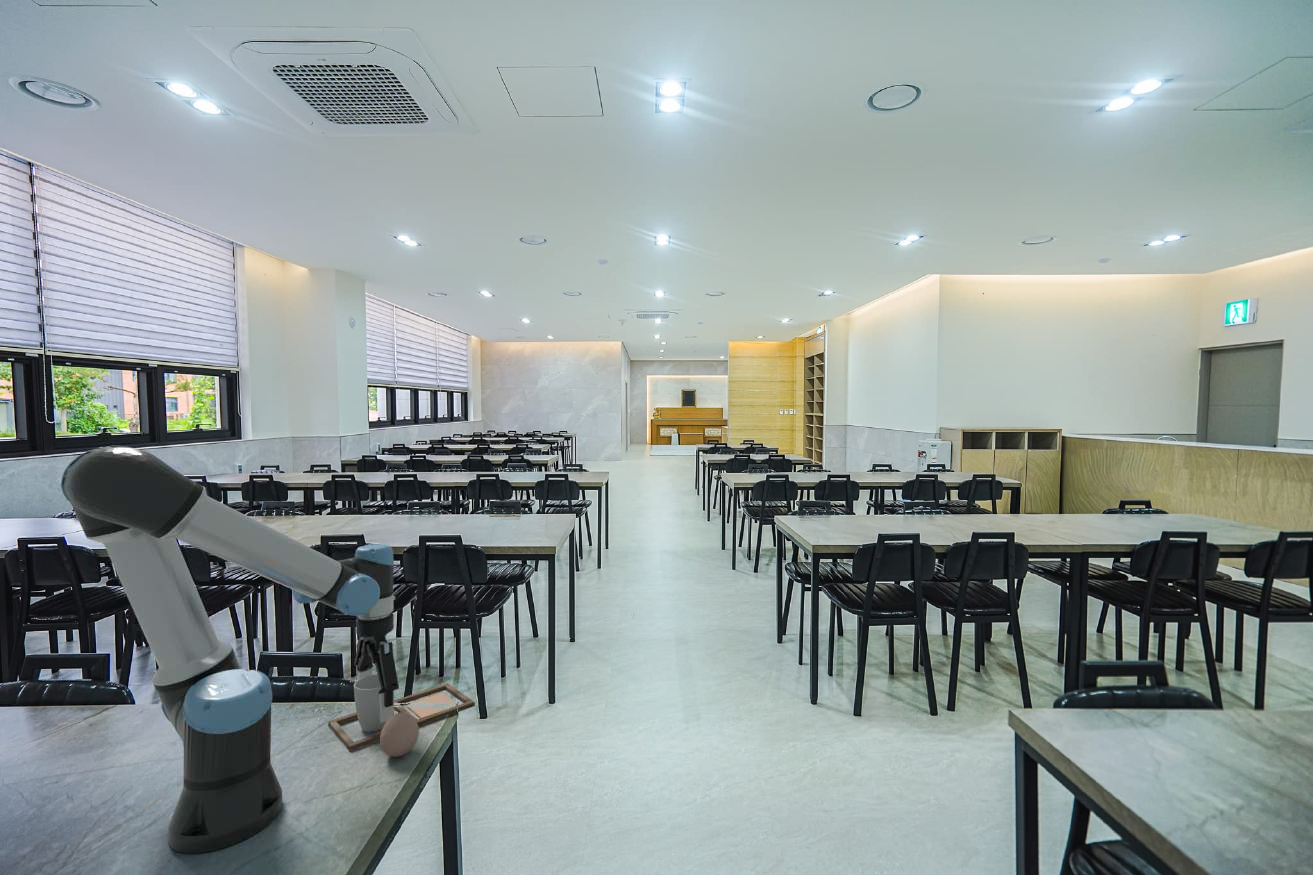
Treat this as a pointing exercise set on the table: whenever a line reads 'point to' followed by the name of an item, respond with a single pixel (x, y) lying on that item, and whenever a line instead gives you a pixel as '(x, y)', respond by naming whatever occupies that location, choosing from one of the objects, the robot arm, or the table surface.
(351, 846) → the table surface
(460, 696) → the brown wooden divided frame
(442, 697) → the pad
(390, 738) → the egg
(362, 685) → the cup
